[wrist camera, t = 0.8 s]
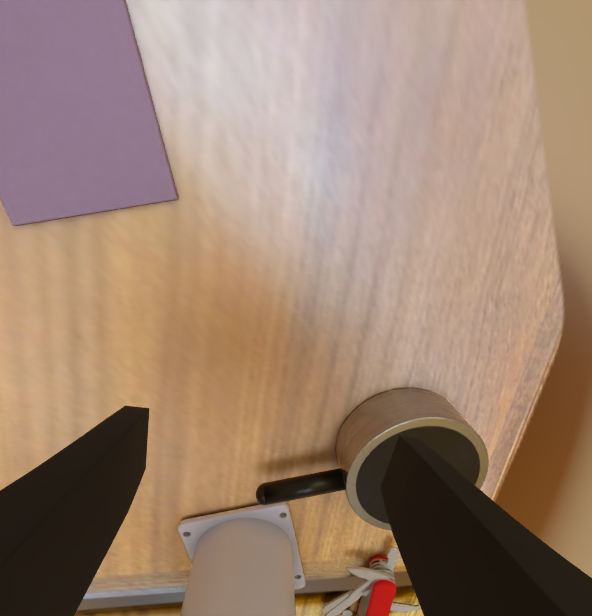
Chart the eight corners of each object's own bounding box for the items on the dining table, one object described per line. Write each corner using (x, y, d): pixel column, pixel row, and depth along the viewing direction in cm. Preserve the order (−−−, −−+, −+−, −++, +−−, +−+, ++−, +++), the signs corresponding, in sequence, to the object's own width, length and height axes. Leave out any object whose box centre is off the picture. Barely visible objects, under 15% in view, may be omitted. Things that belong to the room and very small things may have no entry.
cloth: (178, 199, 15) (177, 198, 14) (17, 225, 14) (12, 225, 14) (106, -70, 11) (102, -76, 11) (-102, -41, 11) (-112, -48, 11)
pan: (457, 477, 22) (485, 517, 19) (269, 515, 22) (269, 561, 19) (460, 376, 19) (494, 405, 17) (243, 417, 19) (238, 453, 16)
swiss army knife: (487, 578, 21) (473, 548, 23) (301, 552, 22) (302, 525, 24) (447, 668, 25) (438, 635, 27) (288, 644, 25) (289, 614, 27)
